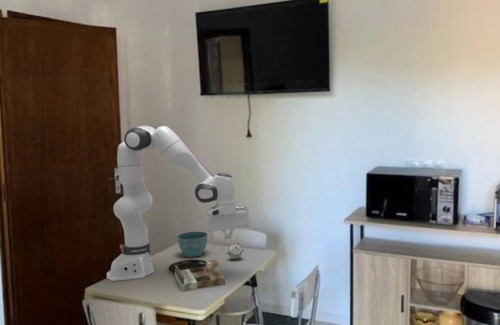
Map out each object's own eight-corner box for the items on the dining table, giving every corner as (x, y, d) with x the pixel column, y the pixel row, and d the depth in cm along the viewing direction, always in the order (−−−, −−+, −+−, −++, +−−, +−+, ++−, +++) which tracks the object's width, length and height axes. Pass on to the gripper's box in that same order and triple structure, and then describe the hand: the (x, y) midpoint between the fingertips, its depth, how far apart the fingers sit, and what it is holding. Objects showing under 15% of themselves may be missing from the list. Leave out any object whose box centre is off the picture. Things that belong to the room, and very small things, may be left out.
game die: (238, 267, 256) (241, 255, 249) (222, 261, 257) (225, 249, 250) (244, 254, 262) (247, 242, 256) (229, 248, 264) (231, 236, 257)
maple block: (209, 274, 227) (208, 263, 226) (206, 271, 232) (205, 260, 231) (219, 272, 228) (219, 262, 228) (217, 269, 233) (216, 259, 233)
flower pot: (174, 253, 272) (173, 234, 271) (202, 248, 279) (201, 229, 278) (183, 261, 258) (182, 241, 257) (213, 256, 265) (211, 235, 263)
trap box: (182, 291, 217) (181, 277, 216) (175, 277, 235) (174, 264, 234) (225, 284, 222) (224, 271, 222) (214, 271, 240) (214, 259, 240)
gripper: (246, 204, 235) (248, 233, 237) (203, 210, 229) (205, 239, 231) (250, 207, 229) (252, 236, 231) (206, 212, 223) (208, 243, 225)
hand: (228, 238), depth 231 cm, fingers closed
